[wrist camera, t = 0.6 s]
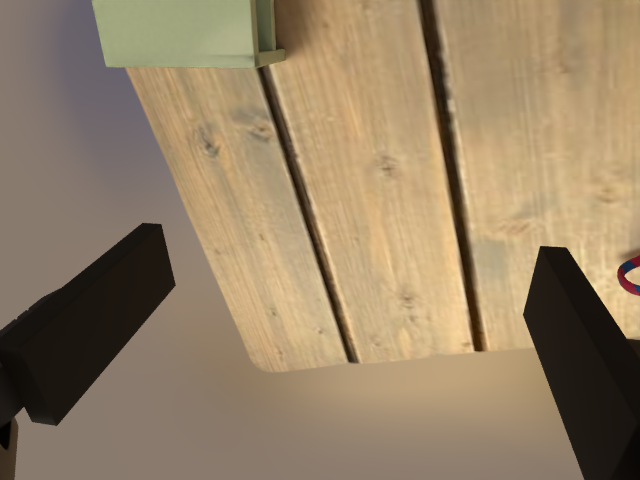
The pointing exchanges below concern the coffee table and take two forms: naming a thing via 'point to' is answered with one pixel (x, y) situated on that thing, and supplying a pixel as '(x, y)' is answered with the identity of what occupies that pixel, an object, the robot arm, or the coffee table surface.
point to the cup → (624, 269)
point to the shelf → (187, 33)
